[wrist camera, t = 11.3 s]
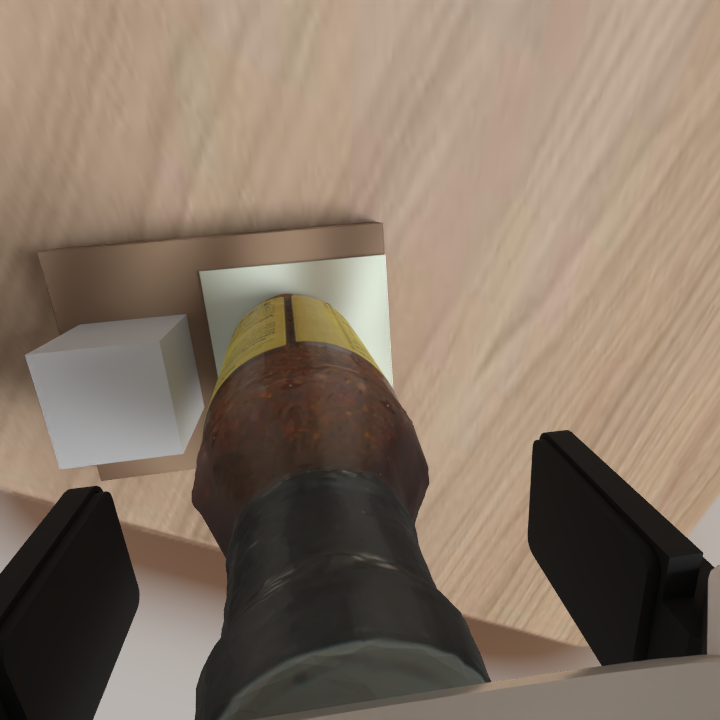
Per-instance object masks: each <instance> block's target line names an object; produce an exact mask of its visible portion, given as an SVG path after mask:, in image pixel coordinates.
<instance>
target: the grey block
mask: <svg viewBox="0 0 720 720" xmlns="http://www.w3.org/2000/svg"><path fill="white" fill-rule="evenodd" d="M25 357H26V360H27V364H28V367H29V370H30V373H31V377H32V380H33V383H34V386H35V390H36V393H37V396H38V399H39V403H40V406H41V409H42V412H43V416H44V419H45V422H46V425H47V429H48V432H49V435H50V438H51V442H52V445H53V448H54V451H55V455H56V458H57V461H58V464H59V468H60V469H67V468H75V467H83V466H91V465H99V464H107V463H115V462H123V461H131V460H138V459H146V458H154V457H162V456H170V455H178V454H184V451H185V449H186V447H187V445H188V442H189V440H190V438H191V436H192V434H193V431H194V429H195V427H196V425H197V423H198V420H199V418H200V416H201V414H202V411H203V409H204V403H203V398H202V392H201V387H200V382H199V377H198V372H197V366H196V361H195V356H194V351H193V346H192V340H191V335H190V330H189V325H188V320H187V314H181V315H171V316H161V317H151V318H141V319H131V320H120V321H110V322H100V323H90V324H80V325H78V326H76V327H74V328H73V329H71V330H69V331H67V332H65V333H64V334H62V335H60V336H58V337H56V338H55V339H53V340H51V341H49V342H47V343H46V344H44V345H42V346H40V347H38V348H37V349H35V350H33V351H31V352H29V353H27V354H26V355H25Z"/></svg>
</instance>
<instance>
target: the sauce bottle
mask: <svg viewBox="0 0 720 720" xmlns="http://www.w3.org/2000/svg"><path fill="white" fill-rule="evenodd" d="M196 464H197V465H196V473H195V481H194V487H193V490H192V503H193V505H194V507H195V508H196V509H197V510H198V511H199V512H200V514H201V515H202V517H203V518H204V520H205V522H206V524H207V525H208V527H209V529H210V531H211V532H212V534H213V536H214V538H215V540H216V541H217V543H218V545H219V547H220V549H221V550H222V552H223V554H224V556H225V557H226V571H227V598H226V603H225V608H224V623H223V627H222V633H221V638H220V640H219V641H218V642H217V643H216V645H215V646H214V648H213V650H212V652H211V654H210V655H209V657H208V659H207V661H206V663H205V665H204V667H203V669H202V671H201V674H200V678H199V681H198V684H197V688H196V714H195V720H252V719H258V718H264V717H271V716H277V715H283V714H290V713H296V712H302V711H309V710H315V709H321V708H328V707H334V706H340V705H346V704H353V703H359V702H366V701H372V700H378V699H385V698H391V697H398V696H404V695H410V694H417V693H423V692H430V691H436V690H443V689H449V688H456V687H463V686H469V685H476V684H482V683H489V682H491V680H490V678H489V676H488V673H487V671H486V668H485V665H484V662H483V660H482V657H481V654H480V652H479V650H478V648H477V646H476V644H475V642H474V639H473V637H472V636H471V633H470V630H469V628H468V625H467V623H466V621H465V619H464V618H463V617H462V614H461V612H460V611H459V610H458V609H457V608H456V607H455V606H454V605H453V604H452V603H451V602H450V601H449V600H448V599H447V598H446V597H445V596H444V595H443V594H442V593H441V592H440V591H439V590H437V588H436V585H435V583H434V582H433V580H432V577H431V574H430V572H429V569H428V567H427V564H426V562H425V560H424V558H423V556H422V553H421V550H420V547H419V545H418V538H417V532H416V529H415V521H416V518H417V515H418V511H419V508H420V506H421V504H422V501H423V499H424V496H425V493H426V490H427V487H428V485H429V476H428V465H427V462H426V459H425V457H424V454H423V451H422V449H421V446H420V443H419V441H418V438H417V435H416V432H415V429H414V426H413V422H412V420H411V419H410V418H409V417H408V415H407V413H406V411H405V410H404V409H403V408H402V406H401V405H400V403H399V401H398V398H397V396H396V394H395V391H394V389H393V388H392V386H391V384H390V383H389V381H388V380H387V378H386V377H385V375H384V374H383V372H382V371H381V370H380V368H379V367H378V365H377V364H376V362H375V361H374V359H373V358H372V356H371V355H370V353H369V352H368V350H367V349H366V347H365V346H364V344H363V343H362V341H361V340H360V338H359V337H358V336H357V334H356V333H355V331H354V330H353V328H352V327H351V326H350V324H349V323H348V322H347V320H346V319H345V318H344V317H343V316H342V315H341V314H340V313H339V312H338V311H337V310H336V309H334V308H333V307H332V306H331V305H330V304H328V303H326V302H323V301H320V300H318V299H315V298H312V297H308V296H302V295H293V294H280V295H277V296H274V297H271V298H269V299H267V300H265V301H264V302H261V303H260V304H259V305H258V306H257V307H255V308H253V309H252V310H251V311H250V312H248V313H247V314H246V315H245V316H244V317H243V318H242V319H241V321H240V322H239V324H238V326H237V327H236V329H235V331H234V333H233V335H232V337H231V340H230V343H229V346H228V349H227V351H226V355H225V358H224V361H223V364H222V368H221V371H220V374H219V377H218V380H217V383H216V386H215V389H214V391H213V394H212V397H211V400H210V403H209V406H208V409H207V413H206V416H205V420H204V425H203V434H202V443H201V446H200V450H199V452H198V456H197V460H196Z"/></svg>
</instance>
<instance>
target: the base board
mask: <svg viewBox="0 0 720 720" xmlns="http://www.w3.org/2000/svg"><path fill="white" fill-rule="evenodd" d="M37 253H38V257H39V260H40V264H41V267H42V271H43V275H44V278H45V282H46V285H47V289H48V292H49V296H50V300H51V303H52V307H53V310H54V314H55V317H56V321H57V325H58V328H59V332H60V335H62V334H64V333H65V332H67V331H69V330H71V329H73V328H74V327H76V326H78V325H80V324H90V323H100V322H110V321H120V320H131V319H141V318H151V317H161V316H171V315H181V314H187V320H188V325H189V330H190V335H191V340H192V346H193V351H194V356H195V361H196V366H197V372H198V377H199V382H200V387H201V392H202V398H203V403H204V409H203V411H202V414H201V416H200V418H199V420H198V423H197V425H196V427H195V429H194V431H193V434H192V436H191V438H190V440H189V442H188V445H187V447H186V449H185V451H184V454H178V455H170V456H162V457H154V458H146V459H138V460H131V461H123V462H115V463H107V464H99V465H97V468H98V471H99V475H100V478H101V481H104V480H112V479H120V478H128V477H135V476H143V475H151V474H159V473H166V472H174V471H182V470H190V469H196V465H197V464H196V460H197V456H198V452H199V450H200V446H201V443H202V434H203V425H204V420H205V416H206V413H207V409H208V406H209V403H210V400H211V397H212V394H213V391H214V389H215V386H216V383H217V380H218V377H219V374H220V371H221V368H222V364H223V361H224V358H225V355H226V351H227V349H228V346H229V343H230V340H231V337H232V335H233V333H234V331H235V329H236V327H237V326H238V324H239V322H240V321H241V319H242V318H243V317H244V316H245V315H246V314H247V313H248V312H250V311H251V310H252V309H253V308H255V307H257V306H258V305H259V304H260V303H261V302H264V301H265V300H267V299H269V298H271V297H274V296H277V295H280V294H293V295H302V296H308V297H312V298H315V299H318V300H320V301H323V302H326V303H328V304H330V305H331V306H332V307H333V308H334V309H336V310H337V311H338V312H339V313H340V314H341V315H342V316H343V317H344V318H345V319H346V320H347V322H348V323H349V324H350V326H351V327H352V328H353V330H354V331H355V333H356V334H357V336H358V337H359V338H360V340H361V341H362V343H363V344H364V346H365V347H366V349H367V350H368V352H369V353H370V355H371V356H372V358H373V359H374V361H375V362H376V364H377V365H378V367H379V368H380V370H381V371H382V372H383V374H384V375H385V377H386V378H387V380H388V381H389V383H390V384H391V386H392V388H393V377H392V360H391V343H390V325H389V308H388V291H387V273H386V256H385V251H384V233H383V223H380V222H368V223H356V224H344V225H333V226H321V227H309V228H297V229H285V230H273V231H261V232H249V233H237V234H225V235H214V236H202V237H190V238H178V239H166V240H154V241H142V242H130V243H118V244H106V245H94V246H83V247H71V248H59V249H53V250H47V251H42V252H37Z"/></svg>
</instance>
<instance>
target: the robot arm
mask: <svg viewBox="0 0 720 720" xmlns="http://www.w3.org/2000/svg"><path fill="white" fill-rule="evenodd" d="M528 543H529V547H530V550H531V552H532V554H533V556H534V557H535V559H536V560H537V562H538V564H539V565H540V567H541V569H542V570H543V572H544V573H545V575H546V577H547V578H548V580H549V581H550V583H551V585H552V586H553V588H554V589H555V591H556V593H557V594H558V596H559V597H560V599H561V601H562V602H563V604H564V606H565V607H566V609H567V610H568V612H569V614H570V615H571V617H572V618H573V620H574V622H575V623H576V625H577V626H578V628H579V630H580V631H581V633H582V635H583V636H584V638H585V639H586V641H587V643H588V644H589V646H590V647H591V649H592V651H593V652H594V654H595V655H596V657H597V659H598V660H599V662H600V663H601V665H602V666H599V667H591V668H584V669H577V670H569V671H562V672H555V673H549V674H542V675H536V676H529V677H522V678H516V679H509V680H502V681H496V682H489V683H482V684H476V685H469V686H463V687H456V688H449V689H443V690H436V691H430V692H423V693H417V694H410V695H404V696H398V697H391V698H385V699H378V700H372V701H366V702H359V703H353V704H346V705H340V706H334V707H328V708H321V709H315V710H309V711H302V712H296V713H290V714H283V715H277V716H271V717H264V718H258V719H252V720H720V565H718V566H717V567H715V568H714V567H713V566H712V565H711V564H710V563H709V562H708V561H707V560H706V559H704V558H703V552H702V551H700V549H698V548H697V547H696V546H695V545H694V544H693V543H692V542H691V541H690V540H689V539H688V538H687V537H685V536H684V535H683V534H682V533H681V532H680V531H679V530H678V529H677V528H676V527H674V526H673V525H672V524H671V523H670V522H669V521H668V520H667V519H666V518H665V517H664V516H662V515H661V514H660V513H659V512H658V511H657V510H656V509H655V508H654V507H653V506H652V505H650V504H649V503H648V502H647V501H646V500H645V499H644V498H643V497H642V496H641V495H640V494H638V493H637V492H636V491H635V490H634V489H633V488H632V487H631V486H630V485H629V484H628V483H626V482H625V481H624V480H623V479H622V478H621V477H620V476H619V475H618V474H617V473H616V472H614V471H613V470H612V469H611V468H610V467H609V466H608V465H607V464H606V463H605V462H603V461H602V460H601V459H600V458H599V457H598V456H597V455H596V454H595V453H594V452H593V451H591V450H590V449H589V448H588V447H587V446H586V445H585V444H584V443H583V442H582V441H581V440H579V439H578V438H577V437H576V436H575V435H574V434H573V433H572V432H570V431H569V430H564V431H555V432H547V433H543V434H541V436H540V440H536V441H534V443H533V452H532V469H531V487H530V505H529V522H528ZM138 604H139V588H138V584H137V581H136V577H135V574H134V570H133V567H132V564H131V560H130V557H129V553H128V550H127V547H126V543H125V540H124V537H123V533H122V529H121V526H120V523H119V519H118V516H117V512H116V509H115V506H114V502H113V499H112V496H111V494H110V493H109V492H103V490H102V489H101V488H100V487H98V486H92V487H84V488H75V489H69V490H67V491H66V492H65V493H64V494H63V495H62V497H61V498H60V499H59V500H58V502H57V503H56V504H55V505H54V507H53V508H52V509H51V511H50V512H49V513H48V514H47V516H46V517H45V518H44V519H43V521H42V522H41V523H40V524H39V526H38V527H37V528H36V530H35V531H34V532H33V533H32V535H31V536H30V537H29V538H28V540H27V541H26V542H25V543H24V545H23V546H22V547H21V548H20V550H19V551H18V552H17V553H16V555H15V556H14V557H13V558H12V560H11V561H10V562H9V564H8V565H7V566H6V567H5V569H4V570H3V571H2V572H1V573H0V720H93V718H94V715H95V713H96V711H97V708H98V706H99V703H100V700H101V698H102V696H103V693H104V691H105V688H106V686H107V683H108V680H109V678H110V675H111V673H112V671H113V668H114V666H115V663H116V661H117V658H118V656H119V653H120V651H121V648H122V646H123V643H124V641H125V638H126V636H127V633H128V631H129V628H130V626H131V623H132V621H133V618H134V616H135V613H136V611H137V608H138Z"/></svg>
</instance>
